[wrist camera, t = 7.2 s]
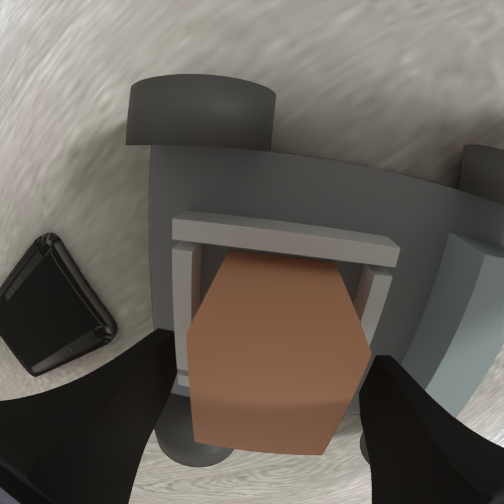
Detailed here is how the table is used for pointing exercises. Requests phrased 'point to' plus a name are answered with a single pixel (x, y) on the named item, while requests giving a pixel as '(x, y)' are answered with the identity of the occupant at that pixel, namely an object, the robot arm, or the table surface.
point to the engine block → (274, 355)
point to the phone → (51, 309)
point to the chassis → (317, 239)
